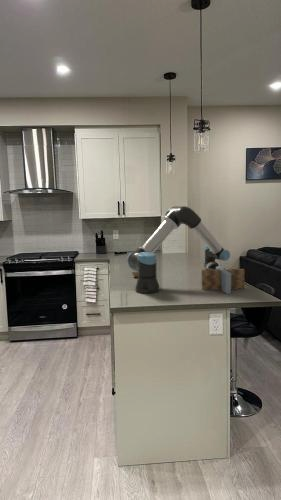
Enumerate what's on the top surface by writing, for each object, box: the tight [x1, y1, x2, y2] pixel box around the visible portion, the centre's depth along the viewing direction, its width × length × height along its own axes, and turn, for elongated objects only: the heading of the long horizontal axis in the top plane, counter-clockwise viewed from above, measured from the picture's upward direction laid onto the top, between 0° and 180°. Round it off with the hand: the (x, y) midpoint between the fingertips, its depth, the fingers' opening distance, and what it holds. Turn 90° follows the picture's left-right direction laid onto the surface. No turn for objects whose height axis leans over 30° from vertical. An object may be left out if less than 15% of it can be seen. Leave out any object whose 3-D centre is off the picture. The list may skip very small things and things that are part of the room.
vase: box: [130, 268, 138, 278], centre depth 234 cm, size 11×11×19 cm
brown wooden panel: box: [201, 268, 245, 291], centre depth 194 cm, size 26×3×12 cm, turn 90°
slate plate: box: [216, 265, 232, 294], centre depth 194 cm, size 24×3×12 cm, turn 0°
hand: (221, 275), depth 197 cm, fingers open, 3 cm apart
